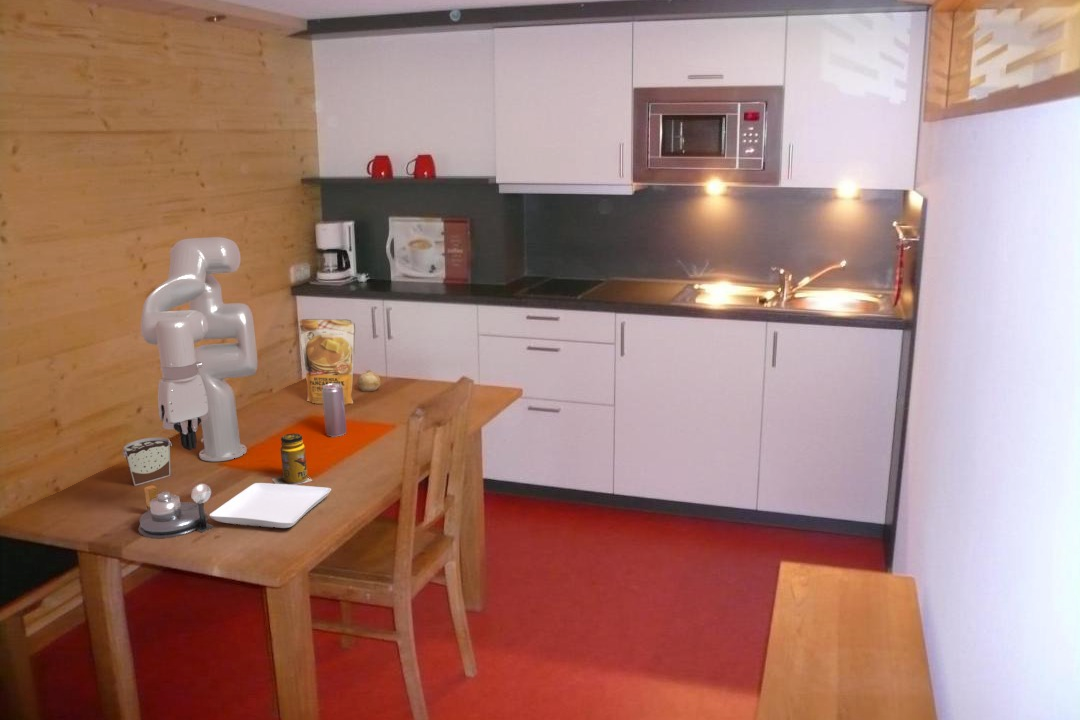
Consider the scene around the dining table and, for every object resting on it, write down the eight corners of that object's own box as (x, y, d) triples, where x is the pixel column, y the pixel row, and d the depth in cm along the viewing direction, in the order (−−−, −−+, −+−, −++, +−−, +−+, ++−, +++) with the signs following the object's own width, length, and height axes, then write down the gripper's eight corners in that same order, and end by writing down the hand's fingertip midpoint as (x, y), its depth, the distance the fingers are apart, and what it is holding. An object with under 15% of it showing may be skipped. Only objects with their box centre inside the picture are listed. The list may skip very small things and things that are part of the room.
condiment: (313, 481, 236) (308, 437, 233) (280, 488, 231) (275, 443, 228) (303, 473, 242) (299, 429, 239) (271, 480, 237) (266, 436, 234)
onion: (385, 389, 318) (384, 370, 316) (367, 394, 312) (365, 374, 311) (372, 385, 323) (370, 366, 322) (353, 390, 318) (351, 371, 316)
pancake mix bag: (309, 398, 310) (302, 317, 303) (362, 400, 306) (355, 318, 299) (300, 403, 304) (292, 321, 297) (353, 406, 299) (346, 322, 293)
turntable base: (126, 527, 211) (126, 525, 211) (187, 506, 222) (187, 504, 222) (158, 544, 201) (158, 542, 201) (220, 521, 212) (220, 519, 212)
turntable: (122, 519, 213) (118, 495, 212) (179, 501, 223) (176, 477, 222) (158, 540, 202) (155, 514, 200) (217, 519, 212) (213, 494, 210)
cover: (146, 517, 210) (143, 494, 208) (172, 508, 214) (169, 486, 213) (160, 524, 205) (157, 501, 204) (187, 515, 210) (184, 492, 209)
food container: (166, 468, 247) (161, 433, 245) (175, 474, 243) (171, 438, 241) (119, 481, 239) (114, 445, 237) (128, 487, 235) (123, 450, 232)
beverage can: (327, 431, 274) (323, 383, 271) (347, 430, 275) (343, 382, 271) (324, 438, 268) (320, 389, 265) (345, 437, 269) (341, 388, 265)
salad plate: (334, 499, 224) (333, 486, 224) (293, 535, 204) (291, 521, 204) (256, 493, 229) (254, 481, 228) (208, 529, 209) (206, 515, 208)
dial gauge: (191, 530, 208) (185, 485, 205) (209, 523, 211) (203, 479, 208) (198, 533, 206) (192, 488, 203) (216, 527, 209) (210, 482, 207)
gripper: (201, 362, 215) (210, 436, 220) (139, 376, 204) (150, 453, 209) (218, 367, 210) (227, 442, 215) (156, 381, 199) (167, 460, 204)
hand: (189, 447), depth 212 cm, fingers closed
